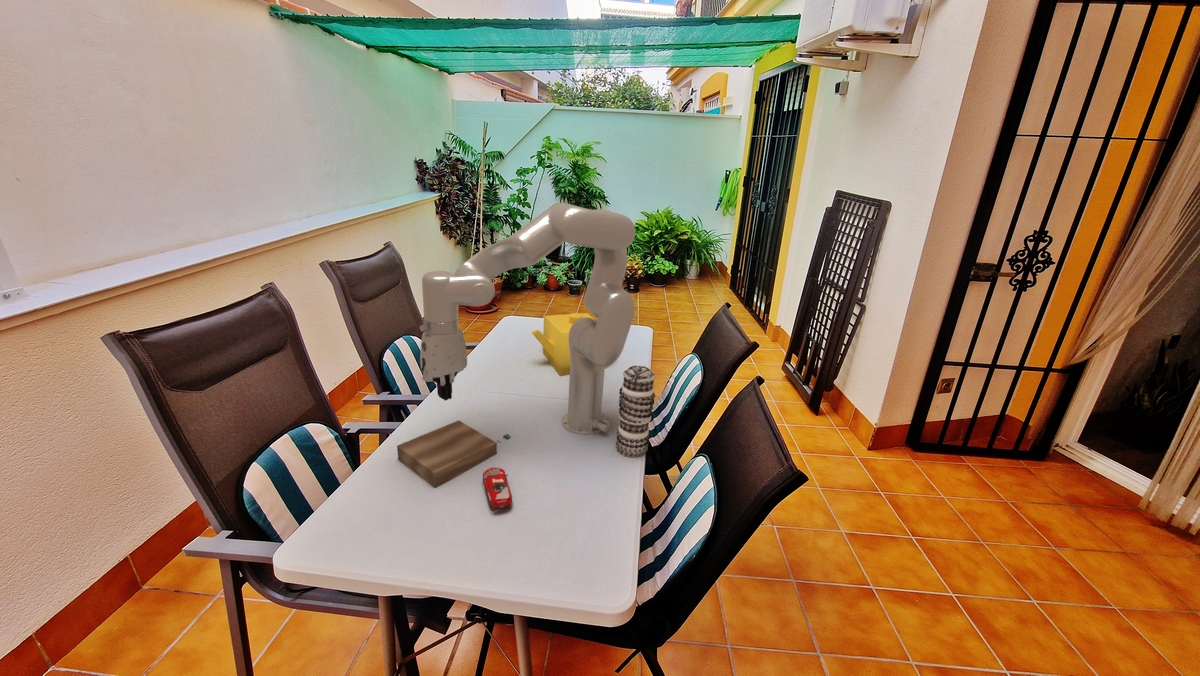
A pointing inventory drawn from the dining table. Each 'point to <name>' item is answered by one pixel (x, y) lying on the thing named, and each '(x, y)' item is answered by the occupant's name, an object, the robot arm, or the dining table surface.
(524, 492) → the dining table surface
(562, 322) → the square teapot
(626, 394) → the decorative candle
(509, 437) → the puzzle cube
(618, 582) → the dining table surface
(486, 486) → the race car
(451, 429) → the block
